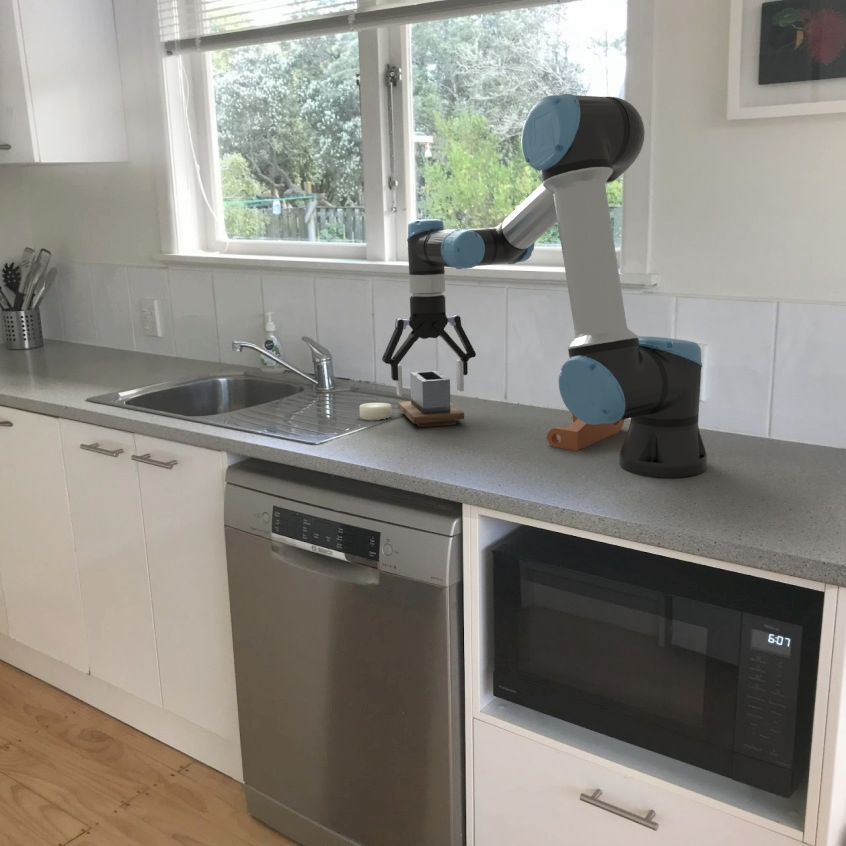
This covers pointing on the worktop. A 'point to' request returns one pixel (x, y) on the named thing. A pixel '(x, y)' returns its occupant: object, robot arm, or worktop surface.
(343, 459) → the worktop surface
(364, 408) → the cream round puck
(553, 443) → the crank
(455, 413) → the stand
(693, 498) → the worktop surface
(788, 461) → the worktop surface
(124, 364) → the worktop surface
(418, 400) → the housing
